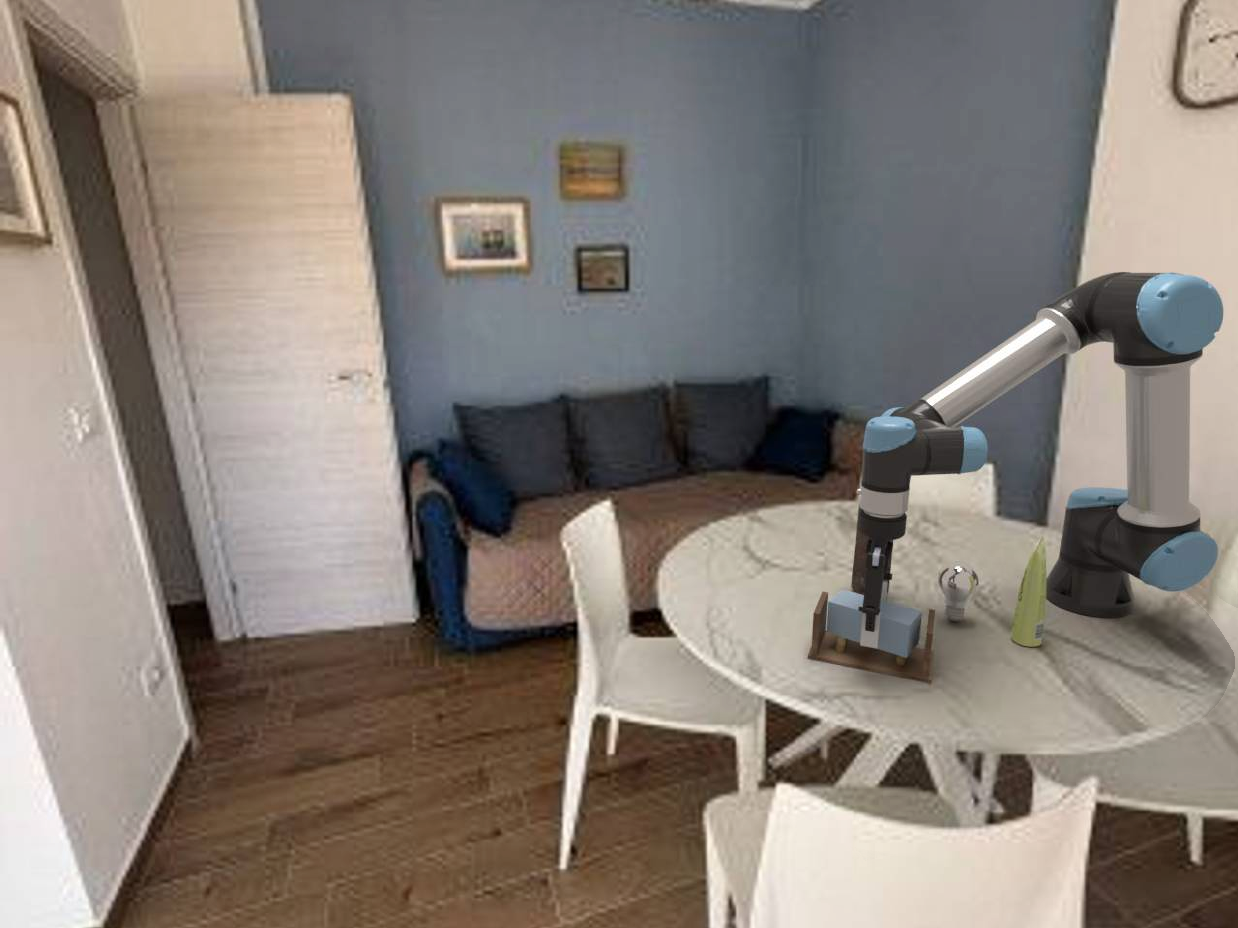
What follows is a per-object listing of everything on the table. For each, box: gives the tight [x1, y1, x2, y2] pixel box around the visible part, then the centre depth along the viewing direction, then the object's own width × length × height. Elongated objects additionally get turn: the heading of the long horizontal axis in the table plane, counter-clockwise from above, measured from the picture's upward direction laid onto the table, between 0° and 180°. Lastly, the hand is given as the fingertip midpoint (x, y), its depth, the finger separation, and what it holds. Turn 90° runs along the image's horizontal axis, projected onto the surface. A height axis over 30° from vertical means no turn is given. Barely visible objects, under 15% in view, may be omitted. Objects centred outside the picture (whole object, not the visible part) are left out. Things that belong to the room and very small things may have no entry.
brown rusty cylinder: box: [850, 502, 894, 595], centre depth 148 cm, size 8×7×20 cm
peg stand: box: [807, 591, 936, 684], centre depth 127 cm, size 20×10×9 cm, turn 65°
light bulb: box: [937, 560, 980, 623], centre depth 138 cm, size 7×7×12 cm
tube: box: [1010, 533, 1047, 648], centre depth 130 cm, size 6×5×20 cm
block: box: [826, 589, 923, 658], centre depth 126 cm, size 6×14×6 cm, turn 50°
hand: (873, 629), depth 127 cm, fingers open, 11 cm apart
